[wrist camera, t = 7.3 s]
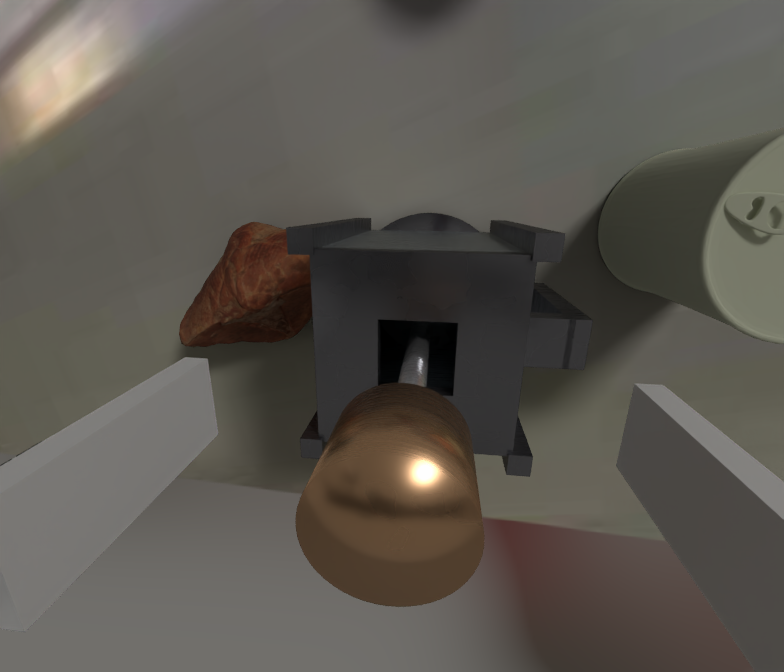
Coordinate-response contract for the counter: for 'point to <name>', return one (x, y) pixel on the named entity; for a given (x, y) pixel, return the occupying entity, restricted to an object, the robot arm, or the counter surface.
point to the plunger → (396, 488)
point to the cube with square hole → (437, 318)
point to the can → (705, 231)
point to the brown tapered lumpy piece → (251, 292)
